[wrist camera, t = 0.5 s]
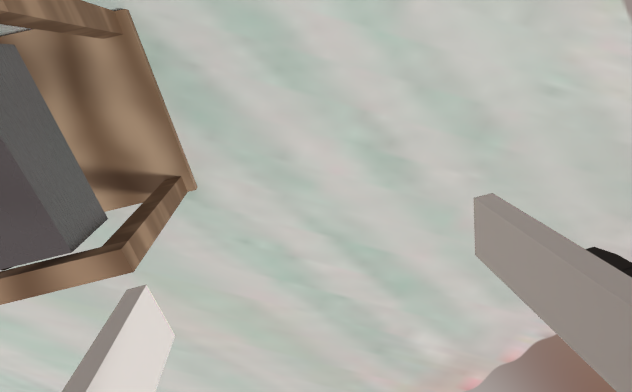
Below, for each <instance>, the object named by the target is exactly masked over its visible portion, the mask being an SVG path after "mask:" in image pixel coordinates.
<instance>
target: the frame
mask: <svg viewBox="0 0 632 392" xmlns="http://www.w3.org/2000/svg"><path fill="white" fill-rule="evenodd" d="M0 24H4V25H11V26H18V27H25V28H31V29H32V30H28V31H23V32H19V33H14V34H10V35H5V36H1V37H0V44H12V45H15V46H16V48H17V50H18V52H19V54H20V56H21V57H22V59H23V61H24V63H25V65H26V67H27V69H28V71H29V72H30V74H31V76H32V78H33V80H34V82H35V84H36V86H37V87H38V89H39V91H40V93H41V95H42V97H43V99H44V100H45V102H46V104H47V106H48V108H49V110H50V112H51V114H52V115H53V117H54V119H55V121H56V123H57V125H58V127H59V128H60V130H61V132H62V134H63V136H64V138H65V140H66V142H67V143H68V145H69V147H70V149H71V151H72V153H73V155H74V156H75V158H76V160H77V162H78V164H79V166H80V168H81V170H82V171H83V173H84V175H85V177H86V179H87V181H88V183H89V184H90V186H91V188H92V190H93V192H94V194H95V196H96V198H97V199H98V201H99V203H100V205H101V207H102V209H103V211H104V212H105V211H110V210H114V209H118V208H122V207H126V206H130V205H134V204H139V203H142V205H141V206H140V207H139V208H138V209H137V210H136V211H135V212H134V213H133V214H132V215H131V216H130V217H129V218H128V219H127V220H126V222H125V223H124V224H123V225H122V226H121V227H120V228H119V229H118V230H117V231H116V232H115V233H114V234H113V235H112V236H111V237H110V239H109V240H108V241H107V242H106V243H105V244H104V245H103V246H102V247H100V248H96V249H92V250H87V251H83V252H79V253H75V254H71V255H67V256H63V257H59V258H55V259H50V260H46V261H42V262H38V263H34V264H30V265H26V266H22V267H18V268H14V269H9V270H5V271H1V272H0V305H2V304H6V303H10V302H14V301H18V300H22V299H26V298H30V297H34V296H38V295H42V294H46V293H50V292H54V291H58V290H62V289H67V288H71V287H75V286H79V285H83V284H87V283H91V282H95V281H99V280H103V279H107V278H111V277H115V276H119V275H123V274H127V273H131V272H134V271H135V269H136V268H137V266H138V265H139V263H140V262H141V260H142V259H143V257H144V256H145V254H146V253H147V251H148V250H149V248H150V247H151V245H152V244H153V242H154V241H155V239H156V238H157V236H158V235H159V233H160V232H161V231H162V229H163V228H164V226H165V225H166V223H167V222H168V220H169V219H170V217H171V216H172V214H173V213H174V211H175V210H176V208H177V207H178V205H179V204H180V202H181V201H182V199H183V198H184V196H185V195H186V193H187V192H189V191H193V190H196V189H197V185H196V182H195V180H194V177H193V175H192V172H191V169H190V167H189V164H188V162H187V159H186V157H185V154H184V152H183V149H182V146H181V144H180V141H179V139H178V136H177V134H176V131H175V128H174V126H173V123H172V121H171V118H170V116H169V113H168V110H167V108H166V105H165V103H164V100H163V98H162V95H161V93H160V90H159V87H158V85H157V82H156V80H155V77H154V75H153V72H152V69H151V67H150V64H149V62H148V59H147V57H146V54H145V51H144V49H143V46H142V44H141V41H140V39H139V36H138V34H137V31H136V28H135V26H134V23H133V21H132V18H131V16H130V13H129V10H126V9H122V10H118V11H112V10H109V9H106V8H103V7H100V6H97V5H94V4H91V3H88V2H85V1H82V0H0Z"/></svg>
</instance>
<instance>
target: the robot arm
mask: <svg viewBox="0 0 632 392" xmlns="http://www.w3.org/2000/svg"><path fill="white" fill-rule="evenodd" d="M474 228H475V255H476V256H477V257H478V258H479V259H480V260H481V261H482V262H483V263H484V264H485V265H486V266H487V267H488V268H489V269H490V270H491V271H492V272H493V273H494V274H495V275H496V276H497V277H498V278H500V279H501V280H502V281H503V282H504V283H505V284H506V285H507V286H508V287H509V288H510V289H511V290H512V291H513V292H514V293H515V294H516V295H517V296H518V297H519V298H520V299H521V300H522V301H523V302H524V303H525V304H526V305H528V306H529V307H530V308H531V309H532V310H533V311H534V312H535V313H536V314H537V315H538V316H539V317H540V318H541V319H542V320H543V321H544V322H545V323H546V324H547V325H548V326H549V327H550V328H551V329H552V330H553V331H554V332H555V333H557V334H558V335H559V336H560V337H561V338H562V339H563V340H564V341H565V342H566V343H567V344H568V345H569V346H570V347H571V348H572V349H573V350H574V351H575V352H576V353H577V354H578V355H579V356H580V357H581V358H582V359H583V360H584V361H586V362H587V363H588V364H589V365H590V366H591V367H592V368H593V369H594V370H595V371H596V372H597V373H598V374H599V375H600V376H601V377H602V378H603V379H604V380H605V381H606V382H608V384H609V385H611V387H612V388H613V389H615V390H616V391H617V392H632V263H631V262H629V261H628V260H626V259H624V258H622V257H621V256H619V255H617V254H614V253H611V252H608V251H605V250H602V249H599V248H596V247H592V248H588V249H584V248H582V247H580V246H579V245H577V244H575V243H574V242H572V241H571V240H569V239H567V238H566V237H564V236H562V235H561V234H559V233H557V232H556V231H554V230H552V229H551V228H549V227H547V226H546V225H544V224H543V223H541V222H539V221H538V220H536V219H534V218H533V217H531V216H529V215H528V214H526V213H524V212H523V211H521V210H519V209H518V208H516V207H515V206H513V205H511V204H510V203H508V202H506V201H505V200H503V199H501V198H500V197H498V196H496V195H495V194H493V193H491V194H487V195H483V196H479V197H476V198H474ZM174 338H175V334H174V332H173V331H172V329H171V327H170V325H169V324H168V322H167V320H166V318H165V317H164V315H163V313H162V311H161V310H160V308H159V306H158V304H157V302H156V301H155V299H154V297H153V295H152V294H151V292H150V290H149V288H148V287H147V285H143V286H139V287H136V288H132V289H128V290H126V292H125V294H124V295H123V297H122V298H121V300H120V301H119V303H118V305H117V306H116V308H115V309H114V311H113V312H112V314H111V315H110V317H109V319H108V320H107V322H106V323H105V325H104V326H103V328H102V330H101V331H100V333H99V334H98V336H97V337H96V339H95V341H94V342H93V344H92V345H91V347H90V348H89V350H88V352H87V353H86V355H85V356H84V358H83V359H82V361H81V363H80V364H79V366H78V367H77V369H76V370H75V372H74V373H73V375H72V377H71V378H70V380H69V381H68V383H67V384H66V386H65V388H64V389H63V391H62V392H155V391H156V388H157V386H158V383H159V380H160V377H161V374H162V372H163V369H164V366H165V363H166V360H167V357H168V355H169V352H170V349H171V346H172V343H173V341H174Z"/></svg>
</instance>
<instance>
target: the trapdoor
mask: <svg viewBox="0 0 632 392" xmlns="http://www.w3.org/2000/svg"><path fill="white" fill-rule="evenodd" d="M107 219H108V218H107V216H106V214H105V212H104V211H103V209H102V207H101V205H100V203H99V201H98V199H97V198H96V196H95V194H94V192H93V190H92V188H91V186H90V184H89V183H88V181H87V179H86V177H85V175H84V173H83V171H82V170H81V168H80V166H79V164H78V162H77V160H76V158H75V156H74V155H73V153H72V151H71V149H70V147H69V145H68V143H67V142H66V140H65V138H64V136H63V134H62V132H61V130H60V128H59V127H58V125H57V123H56V121H55V119H54V117H53V115H52V114H51V112H50V110H49V108H48V106H47V104H46V102H45V100H44V99H43V97H42V95H41V93H40V91H39V89H38V87H37V86H36V84H35V82H34V80H33V78H32V76H31V74H30V72H29V71H28V69H27V67H26V65H25V63H24V61H23V59H22V57H21V56H20V54H19V52H18V50H17V48H16V46H15V45H12V44H0V270H6V269H9V268H11V267H13V266H17V265H22V264H26V263H30V262H34V261H38V260H42V259H46V258H50V257H54V256H58V255H63V254H67V253H71V252H73V251H74V250H75V249H76V248H77V247H78V246H79V245H80V244H81V243H82V242H84V241H85V240H86V239H87V238H88V237H89V236H90V235H91V234H92V233H93V232H94V231H95V230H96V229H97V228H99V227H100V226H101V225H102V224H103V223H104V222H105V221H106V220H107Z"/></svg>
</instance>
